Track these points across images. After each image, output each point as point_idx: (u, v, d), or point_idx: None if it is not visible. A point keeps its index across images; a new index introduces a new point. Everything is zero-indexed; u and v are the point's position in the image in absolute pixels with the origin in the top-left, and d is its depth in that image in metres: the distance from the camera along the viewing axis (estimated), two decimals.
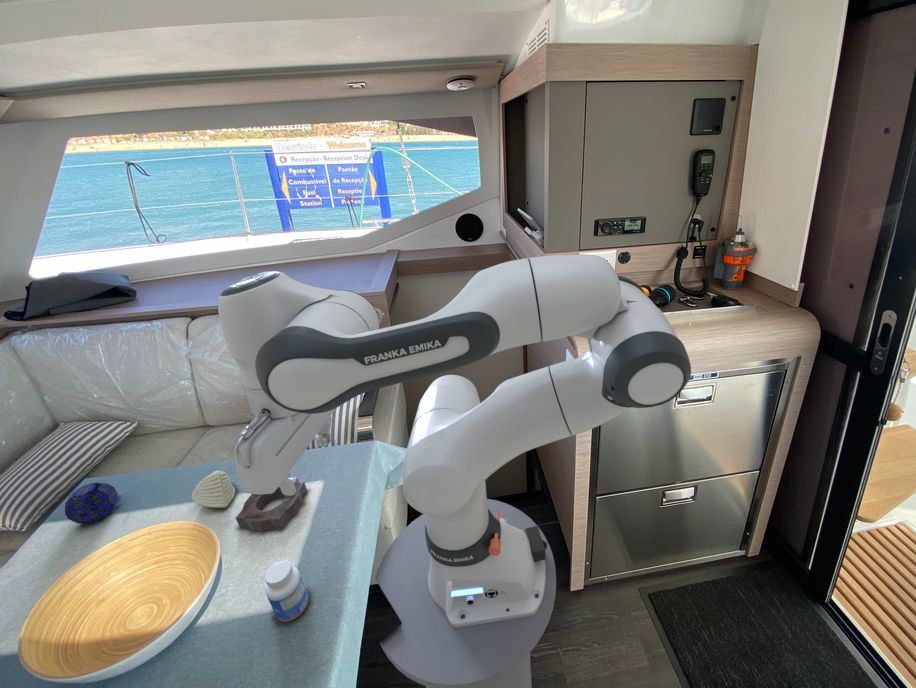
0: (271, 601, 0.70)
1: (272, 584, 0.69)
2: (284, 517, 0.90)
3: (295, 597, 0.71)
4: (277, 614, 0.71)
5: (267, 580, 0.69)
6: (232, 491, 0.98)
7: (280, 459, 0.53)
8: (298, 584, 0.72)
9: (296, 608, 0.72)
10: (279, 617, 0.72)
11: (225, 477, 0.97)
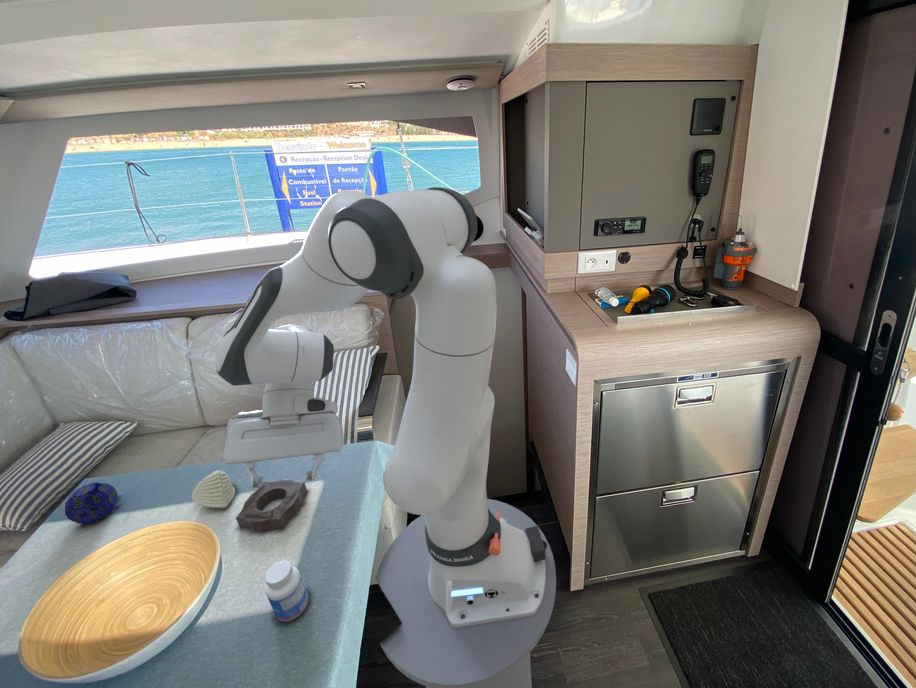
0: (271, 601, 0.70)
1: (272, 584, 0.69)
2: (284, 517, 0.90)
3: (295, 597, 0.71)
4: (277, 614, 0.71)
5: (267, 580, 0.69)
6: (232, 491, 0.98)
7: (243, 444, 0.76)
8: (298, 584, 0.72)
9: (296, 608, 0.72)
10: (279, 617, 0.72)
11: (225, 477, 0.97)
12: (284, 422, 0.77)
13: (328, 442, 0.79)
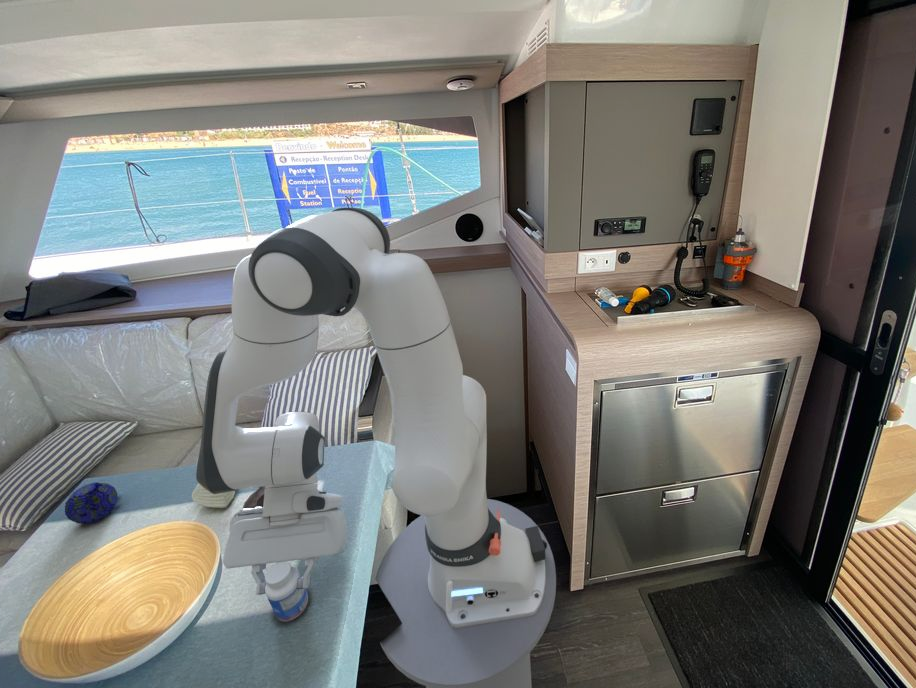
0: (271, 601, 0.70)
1: (272, 584, 0.69)
2: None
3: (295, 597, 0.71)
4: (277, 614, 0.71)
5: (267, 580, 0.69)
6: (232, 491, 0.98)
7: (243, 547, 0.72)
8: None
9: (296, 608, 0.72)
10: (279, 617, 0.72)
11: None
12: (283, 523, 0.73)
13: (328, 544, 0.73)
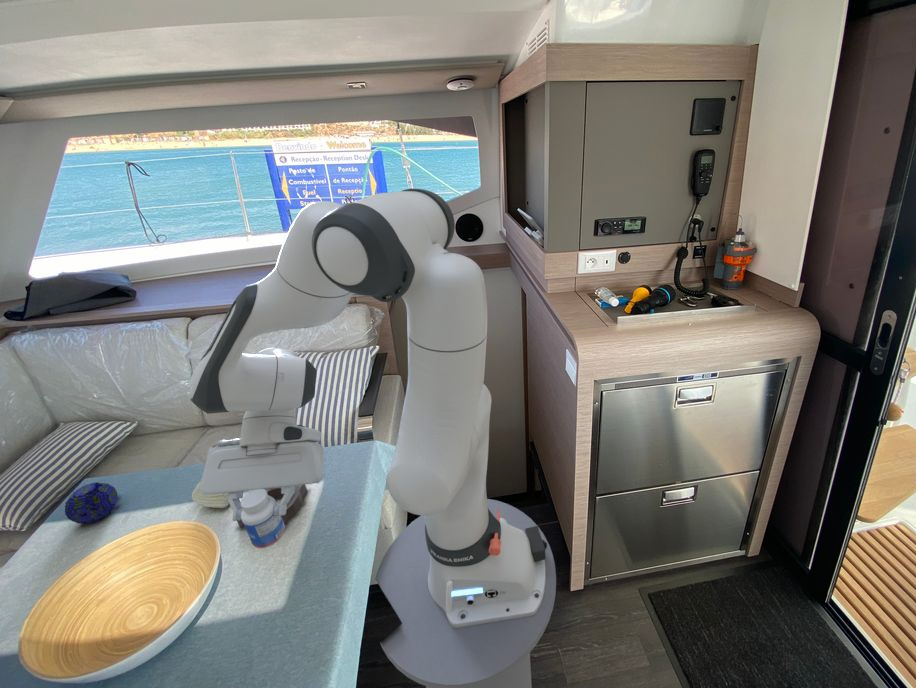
0: (246, 526, 0.70)
1: (247, 508, 0.69)
2: (284, 517, 0.90)
3: (270, 523, 0.72)
4: (253, 540, 0.72)
5: (242, 505, 0.70)
6: None
7: (220, 475, 0.73)
8: None
9: (272, 535, 0.73)
10: (255, 544, 0.72)
11: None
12: (259, 452, 0.73)
13: (304, 473, 0.74)
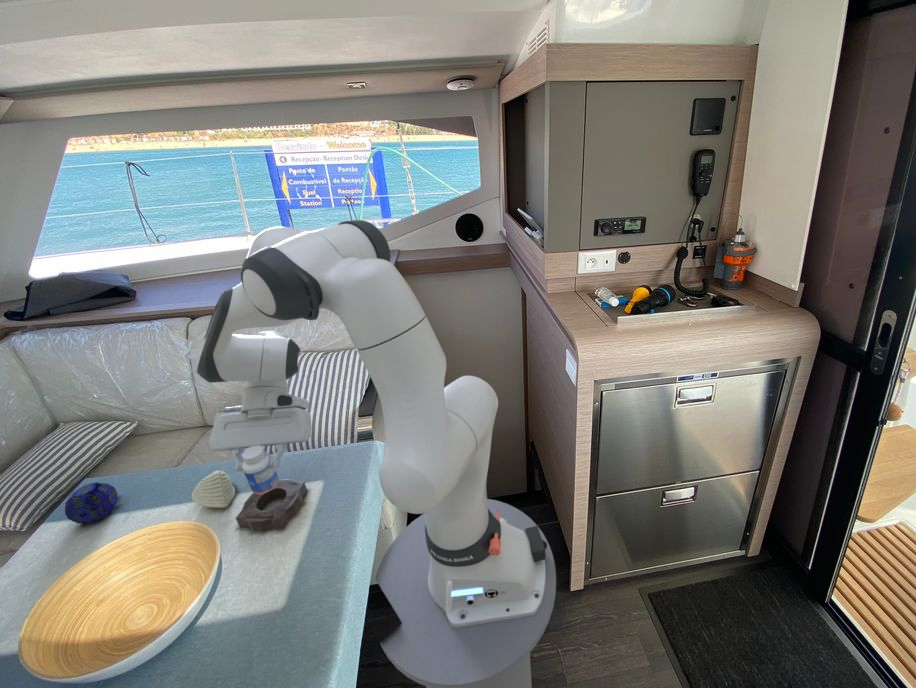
0: (247, 474, 0.87)
1: (247, 459, 0.85)
2: (284, 517, 0.90)
3: (266, 473, 0.88)
4: (252, 487, 0.88)
5: (243, 456, 0.86)
6: (232, 491, 0.98)
7: (225, 434, 0.89)
8: None
9: (268, 483, 0.89)
10: (254, 490, 0.88)
11: (225, 477, 0.97)
12: (257, 415, 0.89)
13: (294, 433, 0.90)
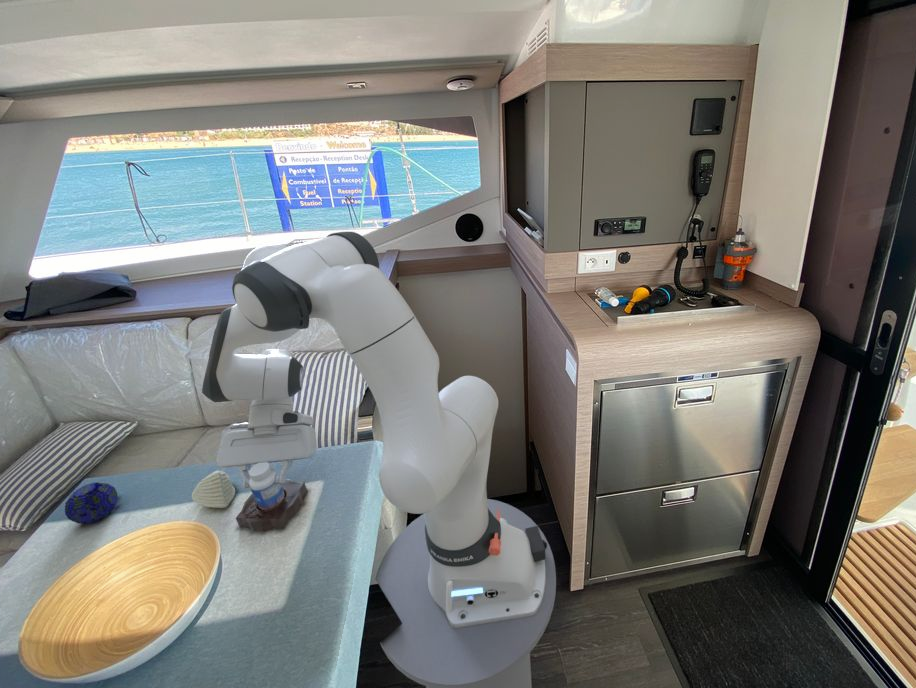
0: (253, 491, 0.88)
1: (254, 476, 0.87)
2: (284, 517, 0.90)
3: (273, 489, 0.90)
4: (258, 503, 0.90)
5: (250, 474, 0.88)
6: (232, 491, 0.98)
7: (232, 451, 0.91)
8: None
9: (274, 499, 0.91)
10: (260, 506, 0.90)
11: (225, 477, 0.97)
12: (263, 432, 0.91)
13: (299, 450, 0.92)
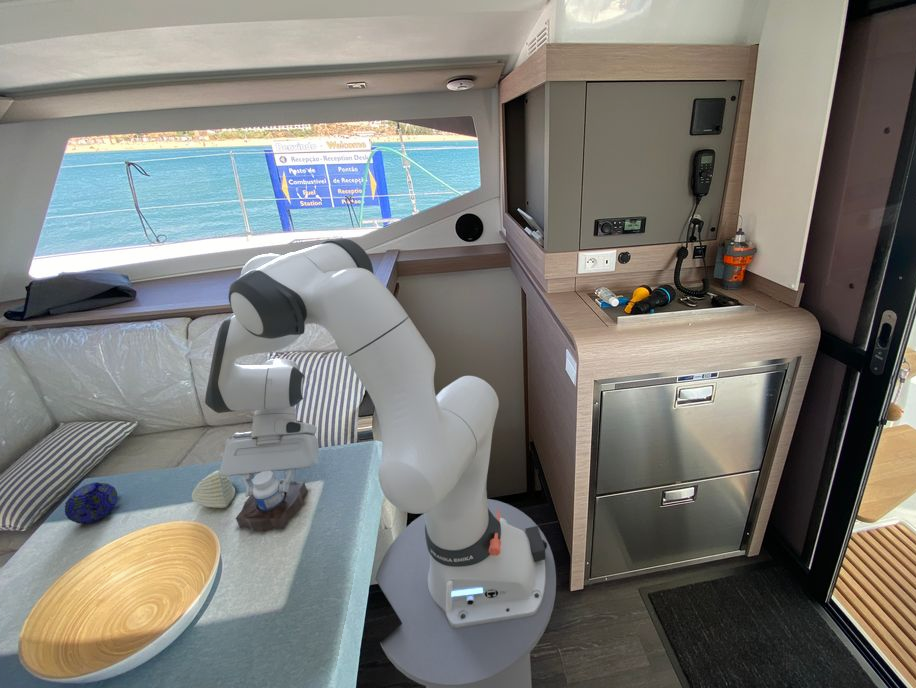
0: (257, 499, 0.89)
1: (258, 485, 0.88)
2: (284, 517, 0.90)
3: (276, 498, 0.91)
4: None
5: (254, 482, 0.89)
6: (232, 491, 0.98)
7: (236, 460, 0.92)
8: (278, 488, 0.91)
9: None
10: None
11: (225, 477, 0.97)
12: (267, 442, 0.92)
13: (302, 459, 0.93)
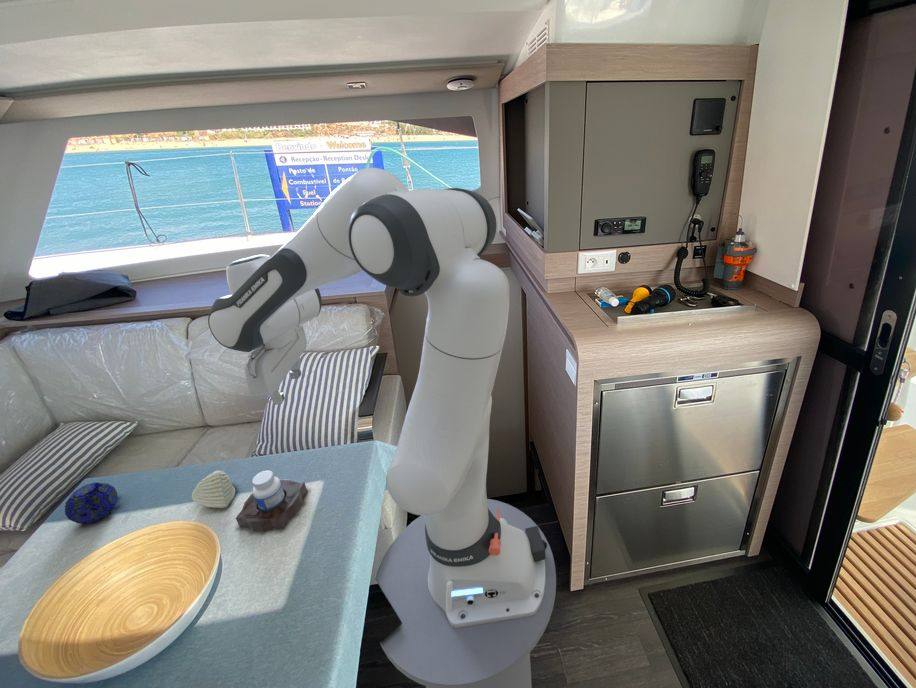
0: (257, 499, 0.89)
1: (258, 485, 0.88)
2: (284, 517, 0.90)
3: (276, 498, 0.91)
4: None
5: (254, 482, 0.89)
6: (232, 491, 0.98)
7: (274, 375, 0.81)
8: (278, 488, 0.91)
9: None
10: None
11: (225, 477, 0.97)
12: (291, 343, 0.86)
13: (303, 345, 0.95)
